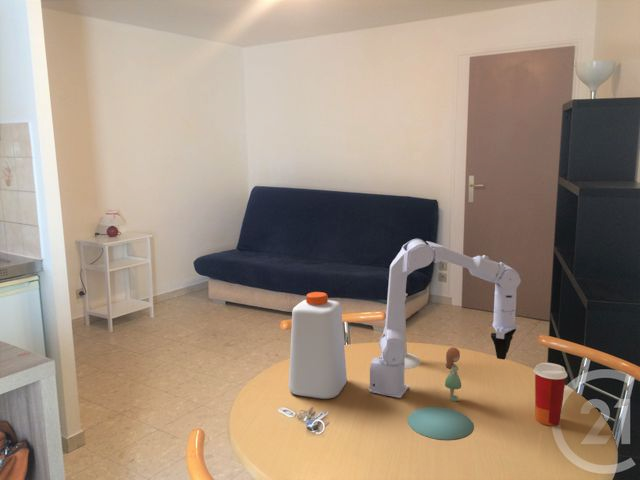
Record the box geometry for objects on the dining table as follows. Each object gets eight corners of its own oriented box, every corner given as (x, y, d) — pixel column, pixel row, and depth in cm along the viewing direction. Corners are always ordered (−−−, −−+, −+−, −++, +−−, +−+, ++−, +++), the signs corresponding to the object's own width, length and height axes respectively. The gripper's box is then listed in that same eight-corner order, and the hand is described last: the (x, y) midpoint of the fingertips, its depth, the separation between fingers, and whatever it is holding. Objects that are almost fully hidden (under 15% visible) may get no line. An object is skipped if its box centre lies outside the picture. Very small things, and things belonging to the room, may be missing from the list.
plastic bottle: (335, 402, 144) (334, 303, 139) (284, 395, 148) (281, 299, 144) (350, 380, 158) (349, 289, 153) (303, 374, 162) (301, 286, 158)
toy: (462, 411, 138) (464, 357, 135) (445, 410, 138) (446, 356, 136) (459, 389, 150) (461, 339, 148) (444, 388, 151) (445, 338, 149)
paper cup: (562, 415, 135) (565, 363, 133) (565, 430, 128) (569, 375, 126) (529, 410, 138) (532, 360, 135) (531, 425, 130) (534, 371, 128)
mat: (399, 430, 129) (399, 429, 129) (418, 403, 143) (418, 402, 143) (465, 446, 121) (465, 445, 121) (478, 415, 136) (478, 414, 135)
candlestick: (425, 358, 174) (427, 269, 169) (415, 373, 162) (417, 278, 157) (387, 353, 179) (388, 266, 174) (376, 366, 167) (376, 275, 163)
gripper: (516, 317, 138) (514, 366, 140) (522, 303, 151) (520, 348, 153) (489, 314, 141) (487, 362, 143) (497, 300, 154) (495, 345, 156)
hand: (502, 355), depth 148 cm, fingers open, 5 cm apart
